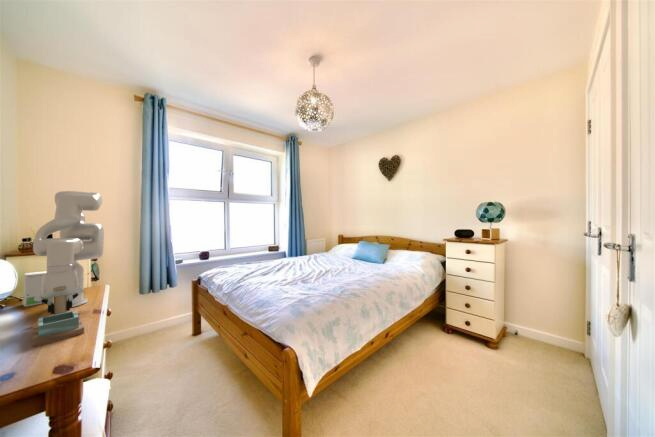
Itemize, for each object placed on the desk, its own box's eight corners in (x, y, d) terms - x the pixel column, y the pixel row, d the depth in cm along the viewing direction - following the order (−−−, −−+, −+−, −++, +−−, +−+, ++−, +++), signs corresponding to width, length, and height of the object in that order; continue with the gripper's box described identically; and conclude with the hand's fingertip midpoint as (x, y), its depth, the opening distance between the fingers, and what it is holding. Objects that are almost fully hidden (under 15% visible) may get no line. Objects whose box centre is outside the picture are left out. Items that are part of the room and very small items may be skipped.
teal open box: (32, 333, 86) (33, 317, 86) (79, 322, 95) (79, 308, 95) (32, 346, 77) (32, 329, 77) (83, 333, 87) (84, 317, 87)
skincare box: (24, 307, 110) (24, 275, 109) (22, 304, 113) (22, 273, 113) (51, 302, 117) (51, 271, 117) (48, 299, 120) (49, 270, 120)
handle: (49, 325, 92) (49, 288, 92) (52, 320, 97) (53, 285, 97) (67, 321, 96) (67, 286, 96) (69, 316, 100) (70, 283, 100)
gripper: (87, 264, 105) (87, 303, 105) (28, 271, 92) (27, 315, 92) (90, 267, 101) (89, 308, 101) (27, 274, 87) (27, 321, 87)
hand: (60, 311), depth 96 cm, fingers closed on handle, 3 cm apart
